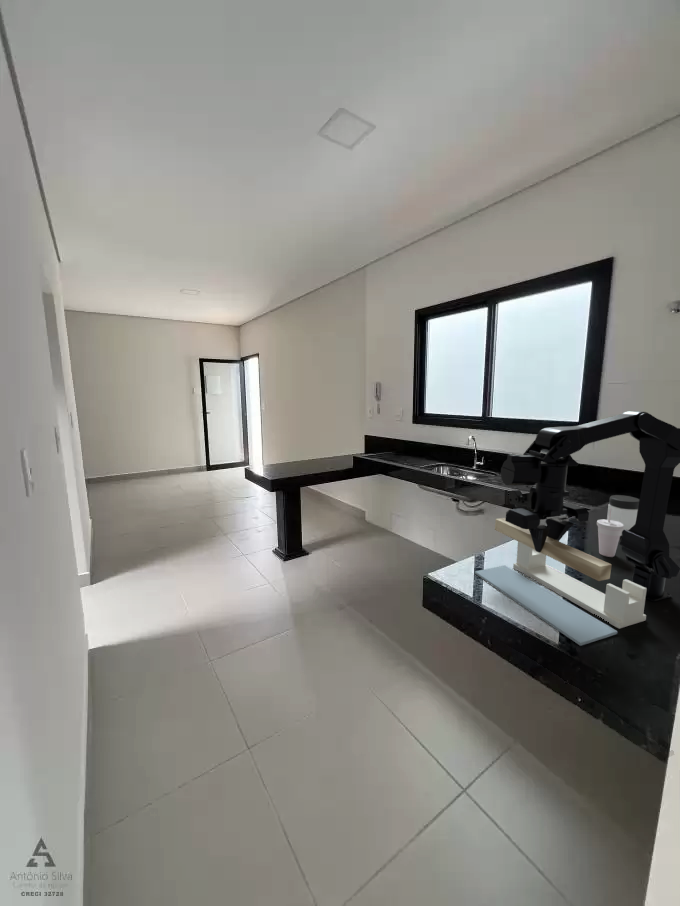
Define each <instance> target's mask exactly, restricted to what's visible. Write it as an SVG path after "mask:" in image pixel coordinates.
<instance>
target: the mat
mask: <svg viewBox="0 0 680 906" xmlns="http://www.w3.org/2000/svg"><path fill="white" fill-rule="evenodd" d="M474 574H475V575H476V576H478V577H479V578H481V579H482V580H483V581H485V582H486V581H487V584H489V583H490V585H491V586H492V585H493V586H492V587H494V588H495V587H496V588H495V589H496V590H499V592H501V593H503V594H504V595H506V596H507V597H508V598H510V599H512V600H513V601H515V602H516V603H517V604H519V605H520V606H521V607H523V608H524V609H526V610H527V611H529V612H530V613H532V614H533V615H535V616H536V617H538V619H539V618H540V620H542V621H543V622H545V623H547V624H548V625H549V626H551V627H552V628H554V629H555V630H556V631H558V632H559V633H561V634H563V635H564V636H565V637H567V638H568V639H570V640H572V641H573V643H574V642H575V644H577V645H579V646H580V647H581V646H585V645H587V644H591V643H593V642H596V641H599V640H603V639H606V638H609V637H612V636H615V635H618V630H616V629H614V628H613V627H611V626H610V625H608V624H606V623H604V622H602V621H601V620H599V619H597V618H596V617H594V616H592V615H590V614H589V613H587V612H586V611H584V610H582V609H581V608H578V606H575V605H574V604H572V603H570V602H569V601H567V600H566V599H563V598H561V597H560V596H558V595H556V594H554V593H553V592H551V591H550V590H548V589H546V588H545V587H544V586H541V585H539V584H538V583H536V582H534V581H532V580H531V579H530V578H527V577H526V576H524V575H522V574H520V573H519V572H518V571H516V570H514V569H512V568H510V567H509V566H507V565H499V566H494V567H490V568H485V569H480V570H476V571H474Z"/></svg>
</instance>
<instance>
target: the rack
mask: <svg viewBox="0 0 680 906" xmlns="http://www.w3.org/2000/svg"><path fill="white" fill-rule="evenodd" d="M516 549H517V550H516V562H514V563H513V566H512V568H513V569H515V571H516V570H517V572H518V571H519V572H520V573H522V574H523V575H525V576H527V577H528V578H529V579H532V580H534V581H535V582H538V583H539V584H540V585H542V586H543V587H546V588H547V589H550V590H551V591H553V592H554V593H557V594H558V595H559V596H562V597H563V598H565V599H567V600H569V601H570V602H572V603H574V604H576V605H578V606H579V607H580V608H583V609H584V610H586V611H588V612H589V613H591V614H593V615H594V614H595V615H594V616H596V615H597V616H596V617H598V616H599V617H598V618H600V617H601V618H602V619H601V618H600V619H601V620H603V619H604V620H603V621H605V622H606V621H607V623H608V622H609V624H610V625H612V626H614V627H615V628H617V629H623V628H625V627H628V626H632V625H635V624H638V623H642V622H644V621H646V620H647V615H646V614H645V613H644V612H645V611H644V610H645V605H646V590H647V588H645V587H643V586H640V585H638V584H636V583H634V582H632V580H629V579H623V580H622V586H621V587H619V586H616V585H614V584H612V583H607V584H606V586H605V593H604V592H602V591H601V590H598V589H596V588H594V587H592V586H589V584H586V583H584V582H582V581H580V580H578V579H576V578H574V577H573V576H571V575H568V574H567V573H565V572H562V571H560V570H559V569H556V568H555V567H552V566H550V565H549V564H547V563H546V562H547V555H545V554H543V553H541V552H537V551H536V550H535V549H533V548H531V547H528V546H526V545H524V544H522V543H520V542H518V541H517V547H516Z"/></svg>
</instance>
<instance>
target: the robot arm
mask: <svg viewBox="0 0 680 906" xmlns="http://www.w3.org/2000/svg"><path fill="white" fill-rule="evenodd" d="M626 434H629V436H630V437H632V438H634V439H635V440H637V441H638V442H639V446H638V449H639V454H640V456H641V458H642V460H643V463H644V471H643V477H642V483H641V487H640V496H639V506H638V511H637V517H636V523H635V525H634V526H633V527H631V528H630V529H629V530H625V529H624V530H623V531H622V536H621V540H620V541H619V543H618V545H619V546H621V552H623V554H624V556H625V560H626V561H627V562H629V563H631V564H633V565H634V567H633V574H632V578H631V579H632V580H631V582H634V583H636V584H638V585H640V586H643V587H645V588H647V590H646V598H645V600H649V601H651V602H657V601H660V600H665V599H668V598H671V597H672V594H671V593H670V592H667V591H665V585H666V579H667V580H668V579H671V580H672V578H675V577H677V576H678V574H679V573H680V566H679V565H678V564H677V563H676V562H675V561H674V560H673V559H672V558H671V557H670V542H669V540H668V538H667V536H666V533H665V531H664V527H665V521H666V515H667V511H668V505H669V499H670V492H671V488H672V483H673V478H674V472H675V469H676V467H677V466H678V465H679V464H680V427H676V426H675V425H672V424H671V423H668V422H666V421H664V420H661V419H659V418H657V417H655V416H654V415H652V414H651V413H649V412H646V411H641V410H640V411H638V410H637V411H636V410H628V411H624V412H623V413H621V414H617V415H614V416H609V417H605V418H602V419H598V420H595V421H589V422H588V423H583V424H579V425H573V426H570V425H569V426H554V427H544V428H542V429H540V430H539V431H538V433H537V435H536V437H535V439H534V441H533V442H532V443H531V444H530V445H529V447H527V449H526V450H525V451H524V452H523V454H522V455H521V454H519V455H516V454H507V458H506V460H504V462H503V463H502V466H501V468H500V477H501V481H502V482H503V484H504V485H506V486H531V487H530V488H529V492H524V493H522V491H521V489H516V490H509V493H508V494H509V495H508V502H509V503H510V504H511V505H514V507H515V508H513V509H511V508H510V509H508V510H507V511H506V512H505V518H506V520H505V521H507V522H509V523H511V524H514V525H516V526H518V527H520V528H522V529H529V531H530V534H531V537H532V540H533V544H534V547H535V550H536V551H537V552H541V550H542V548H543V546H544V543H545V541H546V538H547V536H548V537H550V538H552V539H555V540H557V541H559V542H560V540H561V539H563V537H564V535H566V533H567V532H568V531H569V530H570V528H572V527H573V526H575V523H574V522H571V521H570V518H569V517H572V516H573V517H575V520H576V521H577V522H579V523H582V522H587V521H589V515H590V513H589V510H588V509H587V507H584V506H581V505H577V504H575V503H571V502H565V498H566V497H569V496H570V491H568V490H566V486H567V485H566V484H567V475H568V468H569V467H577V466H578V465H579V462H577V460H575V459H574V458H573V456H572V454H575V453H577V452H579V451H581V450H582V449H583V448H584V447H585V446H587V445H589V444H592V443H596V442H599V441H602V440H607V439H610V438H614V437H615V438H616V437H618V436H619V437H620V436H623V435H626ZM534 485H535V486H534ZM522 507H526V509H525V508H522ZM527 509H528V510H527ZM530 510H532V511H530Z"/></svg>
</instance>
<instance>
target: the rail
mask: <svg viewBox="0 0 680 906" xmlns="http://www.w3.org/2000/svg"><path fill="white" fill-rule="evenodd" d="M505 520H506V517H501V518H500V517H499V518H495V522H494V523H495V525H494V530H495V531H497V532H498V533H500V534H502V535H504V536H506V537H509V538H510V539H512V540H514V541H516V542H517V543H518V542H520V543H522V544H524V545H526V546H528V547H531V548H533V549H535V547H534V544H533V540H532V537H531V534H530V531H529V529H522V528H520V527H518V526H516V525H514V524H511V523H509V522H507V521H505ZM541 553H543V554H545V555H546V557H549V558H551V559H553V560H555V561H556V562H559V563H560V564H563V565H565V566H567V567H570V569H571V568H572V569H574V570H576V571H577V572H579V573H582V574H583V575H585V576H587V577H589V578H592V579H593V580H595V581H598V582H601V581H605V580H610V579H611V570H612V564H611V563H609V562H607V561H604V560H603V559H600V558H598V557H597V556H593V555H591V554H588V553H586V552H584V551H582V550H579V549H578V548H575V547H572V546H570V545H568V544H566V543H564V542H561V541H560V540H559V541H557V540H555V539H552V538H550V537H548V536H547V538H546V541H545V543H544V546H543V548H542V550H541Z"/></svg>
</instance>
